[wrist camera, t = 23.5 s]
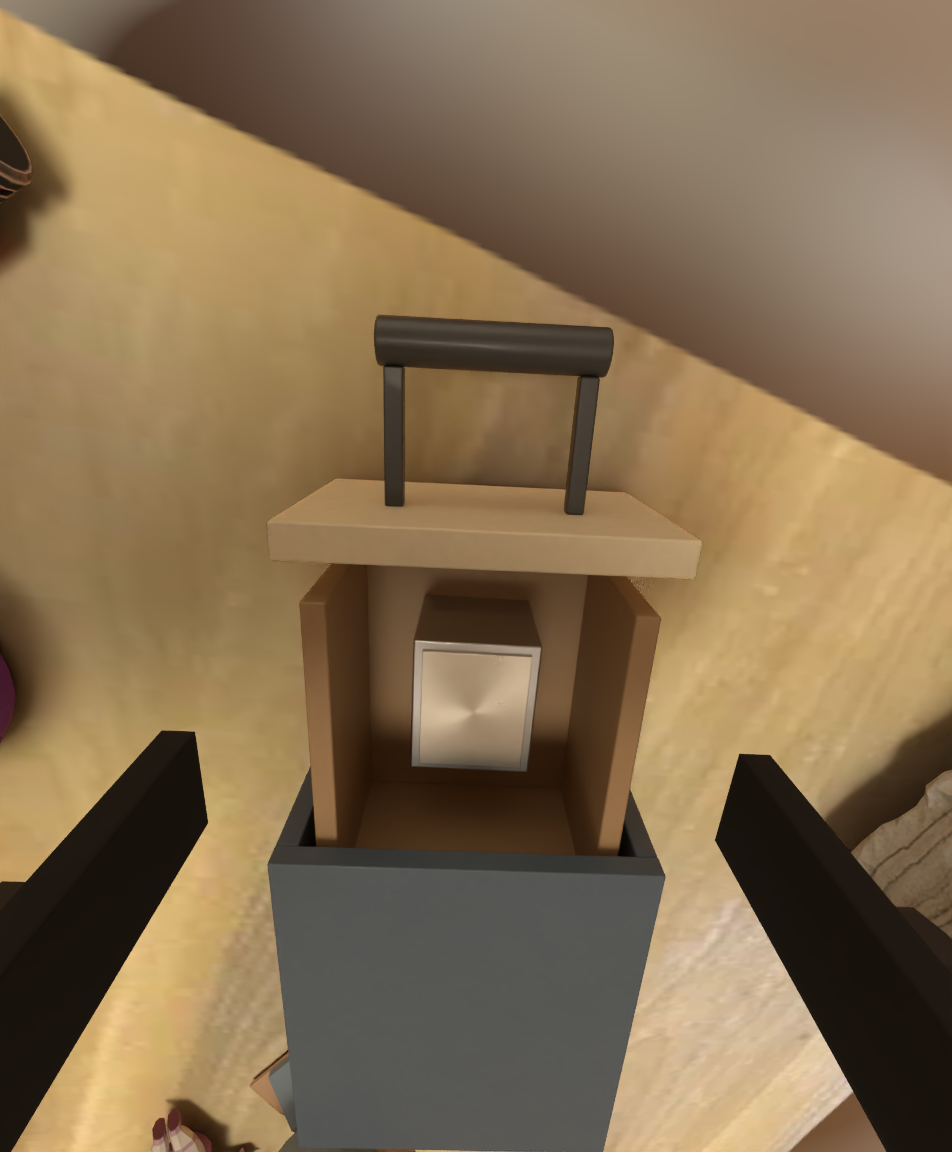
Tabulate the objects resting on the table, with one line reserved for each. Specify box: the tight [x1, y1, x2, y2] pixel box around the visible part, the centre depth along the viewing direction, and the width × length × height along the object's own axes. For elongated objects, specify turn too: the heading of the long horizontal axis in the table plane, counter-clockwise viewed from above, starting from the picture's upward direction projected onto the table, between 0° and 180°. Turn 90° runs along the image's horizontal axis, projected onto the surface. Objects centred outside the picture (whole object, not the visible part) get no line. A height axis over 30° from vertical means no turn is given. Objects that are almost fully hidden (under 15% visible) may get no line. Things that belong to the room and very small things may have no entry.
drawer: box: [267, 315, 702, 857], centre depth 20 cm, size 21×12×8 cm, turn 177°
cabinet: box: [268, 766, 665, 1152], centre depth 25 cm, size 17×14×10 cm
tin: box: [410, 595, 542, 772], centre depth 21 cm, size 6×5×5 cm
